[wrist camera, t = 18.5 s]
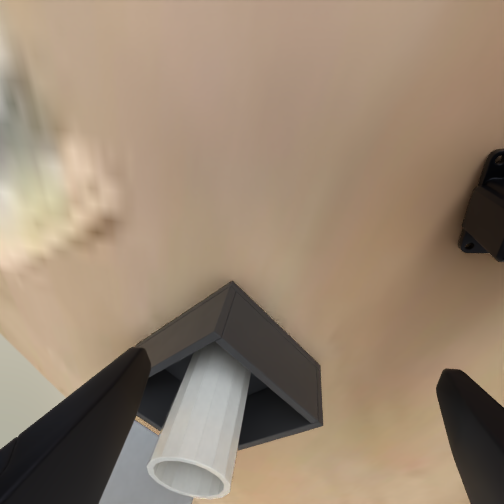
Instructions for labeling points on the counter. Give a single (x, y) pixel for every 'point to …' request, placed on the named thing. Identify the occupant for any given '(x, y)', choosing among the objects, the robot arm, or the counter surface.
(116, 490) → the grey flat rectangular panel
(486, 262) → the counter surface
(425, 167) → the counter surface
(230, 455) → the white cup
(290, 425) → the dark grey open box
